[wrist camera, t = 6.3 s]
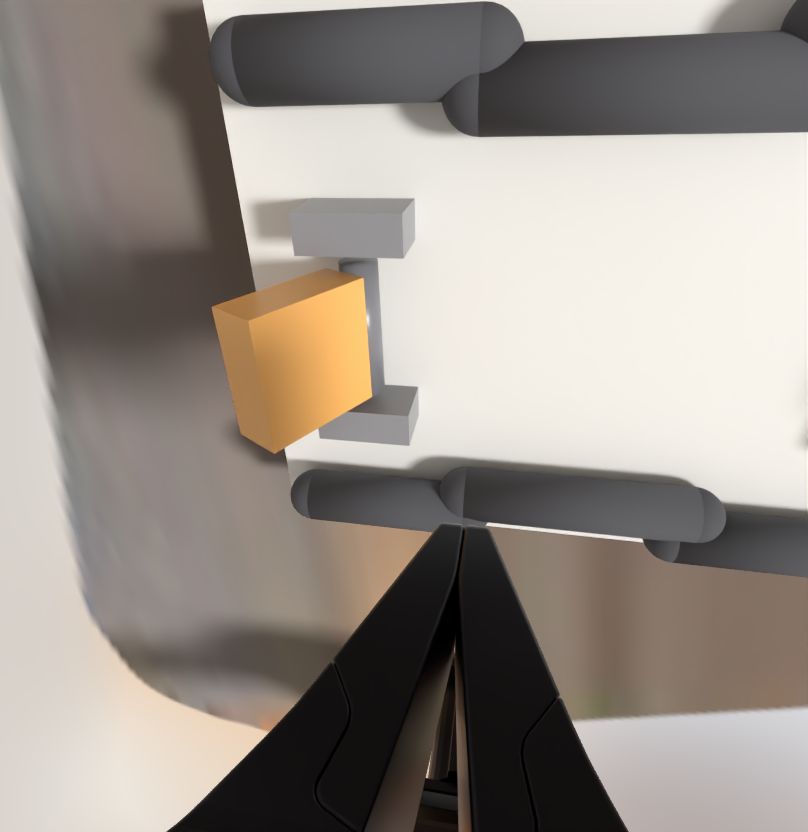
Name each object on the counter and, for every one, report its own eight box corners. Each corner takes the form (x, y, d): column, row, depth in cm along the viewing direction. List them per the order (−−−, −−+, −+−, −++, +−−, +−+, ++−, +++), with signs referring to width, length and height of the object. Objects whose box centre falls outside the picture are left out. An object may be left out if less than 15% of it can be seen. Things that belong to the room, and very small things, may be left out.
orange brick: (396, 388, 19) (275, 459, 15) (363, 374, 20) (242, 439, 16) (391, 260, 16) (246, 313, 13) (353, 251, 17) (209, 298, 14)
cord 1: (1230, 121, 12) (1341, 130, 10) (243, 136, 16) (211, 144, 14) (1352, -56, 10) (1507, -79, 9) (222, 10, 14) (183, 3, 13)
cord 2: (925, 562, 20) (961, 607, 18) (304, 497, 24) (287, 530, 22) (969, 498, 18) (1014, 542, 16) (294, 441, 22) (276, 471, 20)
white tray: (874, 515, 22) (954, 617, 18) (316, 463, 26) (278, 537, 22) (1210, -61, 13) (1541, -121, 9) (248, -1, 17) (158, -23, 13)
